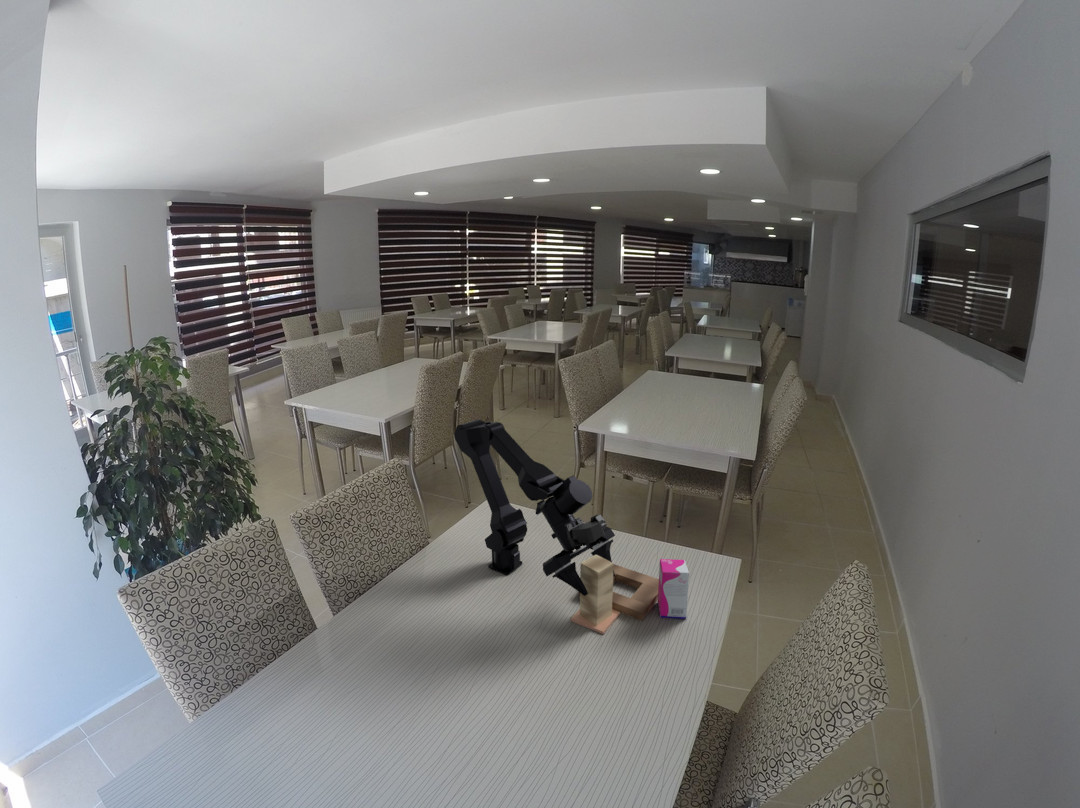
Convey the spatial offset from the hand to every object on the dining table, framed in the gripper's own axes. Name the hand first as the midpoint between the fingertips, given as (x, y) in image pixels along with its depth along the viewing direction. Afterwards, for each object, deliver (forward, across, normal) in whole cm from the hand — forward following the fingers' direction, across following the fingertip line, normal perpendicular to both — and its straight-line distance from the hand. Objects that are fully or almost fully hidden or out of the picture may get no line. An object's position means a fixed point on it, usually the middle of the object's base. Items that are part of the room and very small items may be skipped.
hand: (600, 585), depth 122 cm
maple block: (+5, 0, +6) cm, 8 cm away
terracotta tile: (+5, 0, +7) cm, 9 cm away
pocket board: (+4, +12, +8) cm, 15 cm away
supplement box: (+13, +14, -1) cm, 19 cm away
